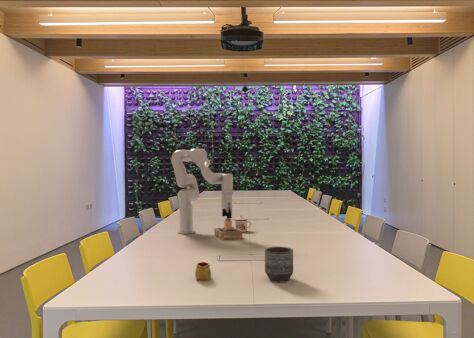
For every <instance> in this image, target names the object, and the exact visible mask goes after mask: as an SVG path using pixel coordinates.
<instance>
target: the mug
mask: <svg viewBox="0 0 474 338" xmlns="http://www.w3.org/2000/svg"><path fill="white" fill-rule="evenodd" d="M210 266H211V264H210V263H209V262H206V261H202V262H197V264H196V267H195V270H194V274H195V279H196V281H210V279H211V276H212V270H211V267H210Z"/></svg>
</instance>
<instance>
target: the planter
mask: <svg viewBox="0 0 474 338" xmlns="http://www.w3.org/2000/svg"><path fill="white" fill-rule="evenodd" d="M264 272H265V274H266V276H267V278H268V279H269V281H271V282H273V283H284V282H288V281H289V280H290V279H291V277H292V275H293V273H294V249H293V248H291V247H287V246H271V247H267V248H264Z"/></svg>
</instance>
